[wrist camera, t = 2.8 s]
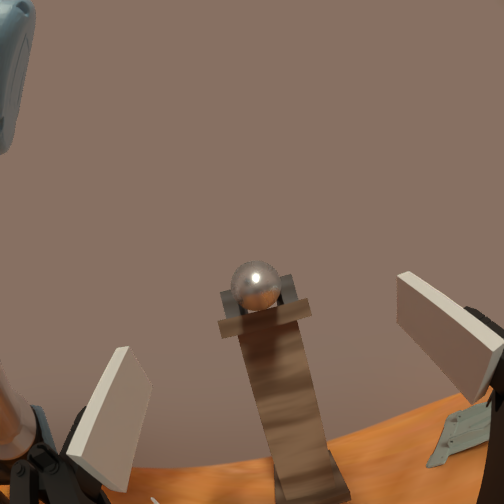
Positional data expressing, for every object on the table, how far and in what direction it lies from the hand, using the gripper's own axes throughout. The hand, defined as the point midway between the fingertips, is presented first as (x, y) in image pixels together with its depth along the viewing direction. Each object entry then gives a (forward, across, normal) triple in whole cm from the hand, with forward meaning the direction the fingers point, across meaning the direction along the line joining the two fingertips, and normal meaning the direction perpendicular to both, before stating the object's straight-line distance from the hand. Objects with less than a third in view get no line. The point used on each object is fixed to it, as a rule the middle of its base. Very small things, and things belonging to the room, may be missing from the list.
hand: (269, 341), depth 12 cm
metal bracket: (+1, +26, -34) cm, 43 cm away
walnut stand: (+7, 0, -37) cm, 37 cm away
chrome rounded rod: (+18, 0, -8) cm, 19 cm away
